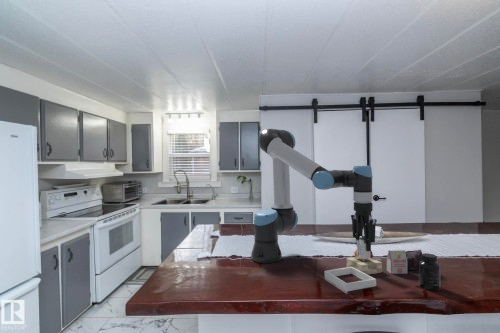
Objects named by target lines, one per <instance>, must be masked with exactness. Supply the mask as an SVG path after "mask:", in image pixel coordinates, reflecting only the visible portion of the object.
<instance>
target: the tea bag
mask: <svg viewBox="0 0 500 333" xmlns="http://www.w3.org/2000/svg"><path fill="white" fill-rule="evenodd" d="M387 251H388V252H387V256H386V271H387V272H388V273H390V274H391V275H394V274H395V275H397V274H398V275H400V274H401V275H402V274H405V275H407V274H408V271H409V270H408V269H407V258H406V253H405V252H406V249H405V250H404V249H403V250H401V249H400V250H397V249H396V250H387Z"/></svg>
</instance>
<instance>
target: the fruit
mask: <svg viewBox="0 0 500 333" xmlns="http://www.w3.org/2000/svg"><path fill="white" fill-rule="evenodd" d="M353 253H354V257H358V255H357V249H355V251H354V252H353ZM370 258H373V250H371V251H370Z"/></svg>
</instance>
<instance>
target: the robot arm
mask: <svg viewBox="0 0 500 333" xmlns="http://www.w3.org/2000/svg"><path fill="white" fill-rule="evenodd" d="M257 143H258V144H257V145H258V146H259V148H260V149H261V150H262V151H263V152H264V153H265V154H267V155H269V156H270V157H271V159H272V174H273V177H272V179H273V204H272V206H271V208H270V209H269V208H267V209H262V210H259V211H256V212H255V213H254V215H253V230H254V232H253V233H254V234H253V236H254V244H253V247H252V251H251V253H250V257H251V260H252V261H254V262H256V263H261V264H262V263H263V264H271V263H277V262H280V261H281V260H282V259H283V258H282V257H283V256H282V255H283V254H282V251H281V247H280V244H279V234H283V233H287V232H290V231H292V230H294V229H295V228H296V227H297V226H298V222H299V216H298V213H297V212H296V211H295V209H294V205H293V204H292V203H291V185H290V184H291V183H290V179H291V178H290V167H291V169H294V170H295V171H296V172H298V173H299V174H301V175H302V176H304V177H305V178H307V179H308V180H309V181H311V182H312V184H313V186H314V187H315V188H316V189H318V190H323V191H325V190H329V189H337V188H352V190H353V191H352V194H353V197H352V198H353V211H355V213H354V214H351V215H350V217H351V218H350V219H351V222H352V223H351V229H352V238H355V240H356V242H355V243H356V250H357V255H358V256H359V236H364V237H365V242H364V259H367V258H370V251H372V243H373V244H374V243H375V242H376V226H377V219H376V218H373V217H372V216H373V215H372V214H371V213H372V212H373V207H374V206H373V202H372V201H373V171H372V170H373V168H372V167H371V165H353V166H352V169H350V170H349V169H348V170H346V169H345V170H344V169H342V170H341V169H332V170H328V169H326V168H324V166H322V165H321V164H319V163H317V162H315V161H314V160H312V159H310V158H309V157H307V156H306V155H305V154H302V153H300V152H299V151H298V150H295V148H296V147H295V146H296V138H295V136H294V134H293V133H292V132H290V131H289V130H286V129H276V128H265V129H263V130H262V131H261V132H260V133H259V135H258V138H257Z"/></svg>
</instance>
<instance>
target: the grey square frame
mask: <svg viewBox="0 0 500 333" xmlns="http://www.w3.org/2000/svg"><path fill="white" fill-rule="evenodd" d="M350 274H351V275H353V276H355V277H357V278H358V279H360V280H357V281H350V282H346V281H345V280H342V279H341V278H339V277H340V276H345V275H350ZM324 280H325V281H326V282H327V283H329V284H330V285H332V286H334V287H335V288H337V289H338V290H339V291H341V292H343V293H344V294H346V295H350V292H351V291H355V290H362V289H368V288H374V287H376V286H377V279H376V278H375V277H373V276H370V274H368V275H367V274H365V273H363V272H361V271H359V270H357V269H355V268H353V267H347V266H346V267H341V268H334V269H333V268H332V269H329V270H328V269H327V270H324Z"/></svg>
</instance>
